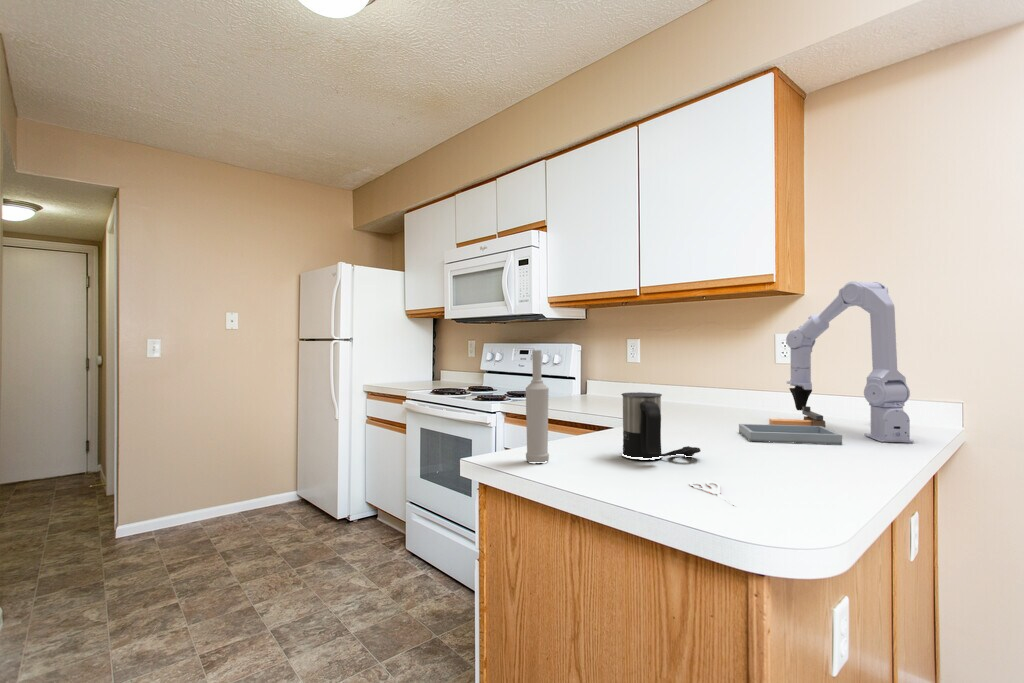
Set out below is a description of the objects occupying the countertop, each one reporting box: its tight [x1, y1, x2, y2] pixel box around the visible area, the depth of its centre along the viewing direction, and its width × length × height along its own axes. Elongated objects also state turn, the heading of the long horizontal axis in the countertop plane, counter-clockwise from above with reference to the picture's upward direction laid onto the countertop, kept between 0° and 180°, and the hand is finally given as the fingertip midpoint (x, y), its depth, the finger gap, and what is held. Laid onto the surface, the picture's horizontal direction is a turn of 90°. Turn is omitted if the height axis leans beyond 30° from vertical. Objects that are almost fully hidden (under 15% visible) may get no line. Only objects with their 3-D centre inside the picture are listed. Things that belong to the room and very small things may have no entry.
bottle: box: [525, 349, 550, 462], centre depth 117 cm, size 5×5×25 cm
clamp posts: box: [803, 415, 826, 428], centre depth 157 cm, size 9×3×3 cm, turn 168°
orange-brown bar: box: [768, 418, 812, 426], centre depth 158 cm, size 4×14×3 cm, turn 76°
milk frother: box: [620, 391, 701, 458], centre depth 121 cm, size 14×16×15 cm
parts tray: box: [738, 423, 843, 445], centre depth 144 cm, size 14×22×2 cm, turn 78°
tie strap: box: [801, 405, 824, 420], centre depth 159 cm, size 12×2×2 cm, turn 168°
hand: (800, 410), depth 169 cm, fingers closed
